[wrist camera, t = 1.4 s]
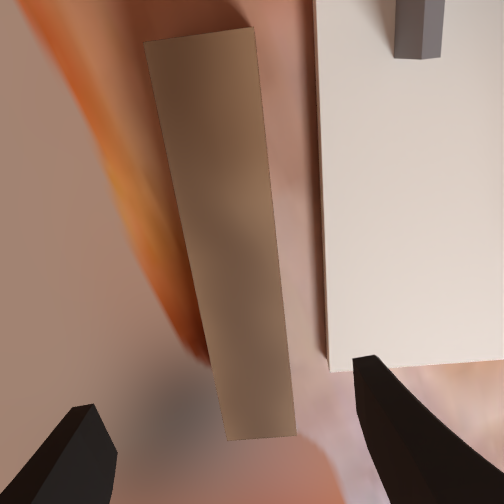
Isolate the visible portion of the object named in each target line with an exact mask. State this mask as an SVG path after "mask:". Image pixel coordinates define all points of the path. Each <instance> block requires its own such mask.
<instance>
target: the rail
mask: <svg viewBox="0 0 504 504" xmlns="http://www.w3.org/2000/svg"><path fill="white" fill-rule="evenodd" d="M143 45H144V49H145V54H146V59H147V64H148V68H149V73H150V78H151V83H152V87H153V92H154V97H155V101H156V106H157V111H158V116H159V120H160V125H161V130H162V135H163V139H164V144H165V149H166V153H167V158H168V163H169V168H170V172H171V177H172V182H173V187H174V191H175V196H176V201H177V205H178V210H179V215H180V220H181V224H182V229H183V234H184V239H185V243H186V248H187V253H188V258H189V262H190V267H191V272H192V276H193V281H194V286H195V291H196V295H197V300H198V305H199V310H200V314H201V319H202V324H203V328H204V333H205V338H206V343H207V347H208V352H209V357H210V362H211V366H212V371H213V376H214V380H215V385H216V390H217V394H218V399H219V404H220V409H221V414H222V418H223V423H224V428H225V432H226V437H227V441H232V440H246V439H258V438H273V437H285V436H297V432H296V422H295V412H294V402H293V392H292V382H291V372H290V363H289V353H288V344H287V334H286V325H285V315H284V306H283V297H282V287H281V278H280V268H279V259H278V249H277V240H276V230H275V221H274V211H273V202H272V192H271V183H270V173H269V164H268V154H267V145H266V135H265V126H264V117H263V107H262V98H261V88H260V79H259V69H258V60H257V50H256V41H255V32H254V27H248V28H240V29H233V30H226V31H219V32H212V33H205V34H197V35H190V36H183V37H176V38H169V39H162V40H155V41H147V42H143Z"/></svg>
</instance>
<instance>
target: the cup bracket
mask: <svg viewBox="0 0 504 504" xmlns="http://www.w3.org/2000/svg"><path fill="white" fill-rule="evenodd" d="M313 21H314V46H315V71H316V96H317V121H318V146H319V171H320V196H321V221H322V245H323V270H324V295H325V320H326V345H327V362H328V367H329V371H330V373H331V372H344V371H353V362H352V358H358V357H364V356H369V355H376V356H377V357H379V358H380V359H381V361H382V362H383V363H384V364H385V365H386V366H387V368H397V367H410V366H423V365H436V364H450V363H463V362H476V361H489V360H502V359H504V0H313Z"/></svg>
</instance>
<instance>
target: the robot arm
mask: <svg viewBox="0 0 504 504" xmlns="http://www.w3.org/2000/svg"><path fill="white" fill-rule="evenodd" d="M352 362H353V374H354V386H355V398H356V411H357V415H358V418H359V421H360V425H361V428H362V431H363V435H364V438H365V441H366V444H367V447H368V450H369V453H370V455H371V457H372V460H373V462H374V465H375V467H376V469H377V472H378V474H379V477H380V479H381V481H382V484H383V486H384V488H385V491H386V493H387V496H388V498H389V500H390V503H391V504H504V473H503V472H501V471H500V470H499V469H498V468H496V467H495V466H494V465H492V464H491V463H490V462H488V461H487V460H486V459H485V458H483V457H482V456H481V455H480V454H478V453H477V452H476V451H475V450H473V449H472V448H471V447H470V446H469V445H467V444H466V443H465V442H464V441H463V440H461V439H460V438H459V437H458V436H457V435H456V434H455V433H453V432H452V431H451V430H450V429H449V428H448V427H447V426H445V425H444V424H443V423H442V422H441V421H440V420H439V419H438V418H437V417H436V416H435V415H433V414H432V413H431V412H430V411H429V410H428V409H427V408H426V407H425V406H424V405H423V404H422V403H421V402H420V401H419V400H418V399H417V398H416V397H415V396H414V395H413V394H412V393H411V392H410V391H409V390H408V389H407V388H406V387H405V386H404V385H403V384H402V383H401V382H400V381H399V380H398V379H397V378H396V376H395V375H394V374H393V373H392V372H391V371H390V370H389V369H388V368H387V366H386V365H385V364H384V363H383V362H382V361H381V359H380V358H379V357H377V356H376V355H369V356H364V357H358V358H352ZM117 453H118V452H117V450H116V448H115V446H114V444H113V442H112V440H111V438H110V436H109V434H108V432H107V430H106V428H105V426H104V424H103V422H102V420H101V418H100V415H99V414H98V412H97V409H96V407H95V405H94V404H89V405H83V406H77V407H72V408H71V410H70V411H69V412H68V413H67V414H66V415H65V417H64V418H63V419H62V420H61V422H60V423H59V424H58V425H57V426H56V428H55V429H54V430H53V431H52V433H51V434H50V435H49V436H48V438H47V439H46V440H45V441H44V443H43V444H42V445H41V446H40V447H39V449H38V450H37V451H36V452H35V454H34V455H33V456H32V457H31V459H30V460H29V461H28V462H27V463H26V464H25V466H24V467H23V468H22V469H21V471H20V472H19V473H18V474H17V475H16V477H15V478H14V479H13V480H12V482H11V483H10V484H9V485H8V486H7V487H6V488H5V489H4V490H3V492H2V493H1V494H0V504H109V502H110V498H111V495H112V490H113V483H114V477H115V469H116V461H117Z"/></svg>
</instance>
